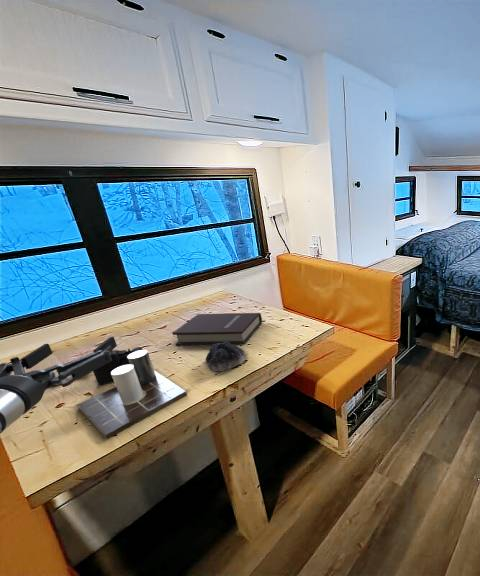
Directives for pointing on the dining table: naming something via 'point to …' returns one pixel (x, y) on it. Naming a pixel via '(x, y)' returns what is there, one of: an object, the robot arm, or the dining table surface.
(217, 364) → the crystal cluster
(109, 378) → the camera
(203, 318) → the book
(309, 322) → the dining table surface
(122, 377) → the white plastic cylinder
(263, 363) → the dining table surface
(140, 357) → the shiny metal cylinder
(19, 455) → the dining table surface
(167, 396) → the grid board
